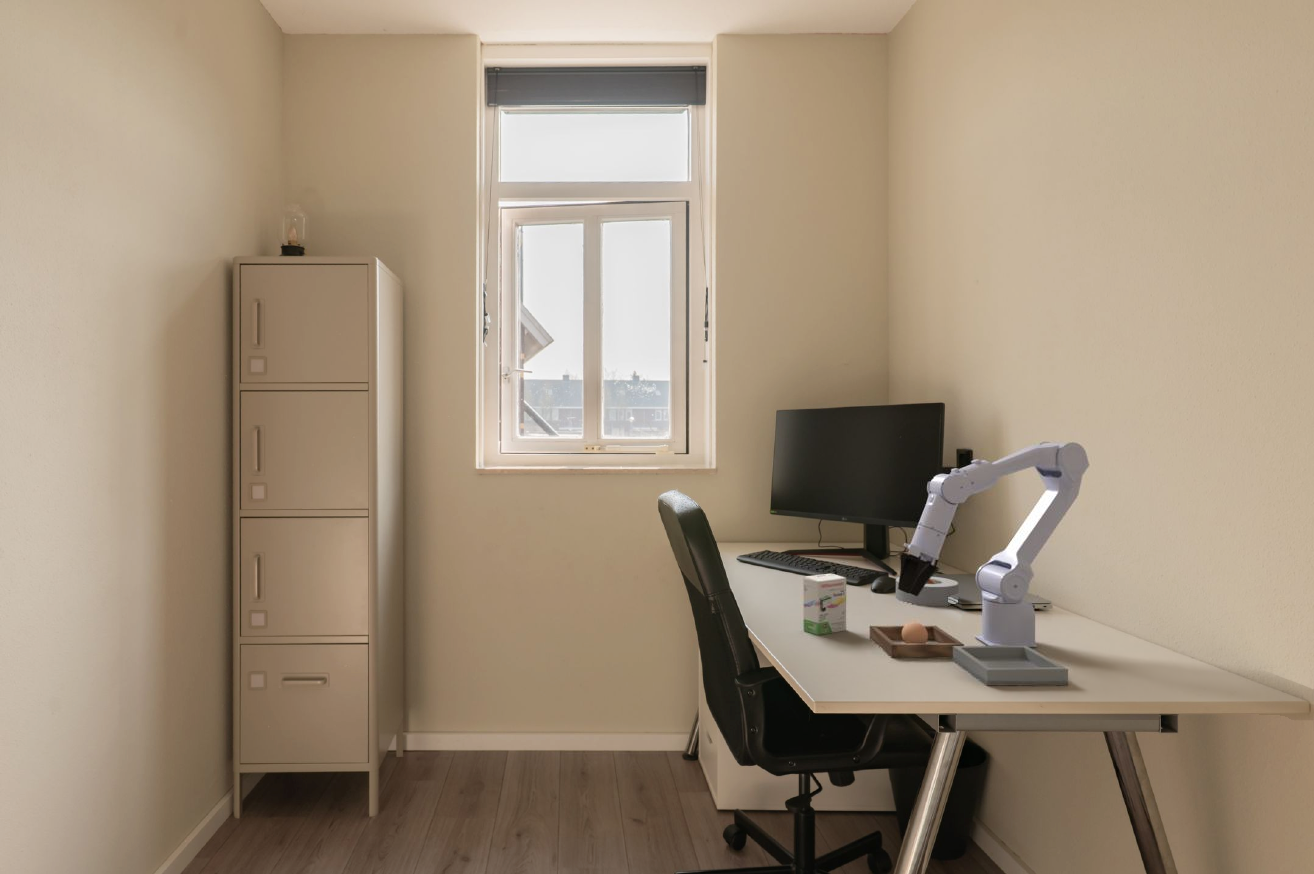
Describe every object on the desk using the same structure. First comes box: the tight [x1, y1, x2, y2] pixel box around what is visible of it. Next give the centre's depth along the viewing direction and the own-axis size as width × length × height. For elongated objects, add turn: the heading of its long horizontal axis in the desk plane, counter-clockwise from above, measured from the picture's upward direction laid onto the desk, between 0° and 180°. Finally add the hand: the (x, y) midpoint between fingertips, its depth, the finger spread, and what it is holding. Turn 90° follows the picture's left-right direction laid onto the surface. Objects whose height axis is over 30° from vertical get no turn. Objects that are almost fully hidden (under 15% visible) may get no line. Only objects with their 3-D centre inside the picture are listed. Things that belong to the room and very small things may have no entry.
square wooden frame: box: [869, 625, 965, 658], centre depth 151 cm, size 14×14×2 cm
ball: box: [902, 621, 929, 643], centre depth 151 cm, size 5×5×5 cm
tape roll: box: [895, 576, 960, 607], centre depth 194 cm, size 15×15×5 cm
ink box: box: [802, 573, 847, 636], centre depth 163 cm, size 8×5×12 cm, turn 121°
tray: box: [952, 645, 1069, 687], centre depth 135 cm, size 14×14×3 cm
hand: (907, 592), depth 151 cm, fingers open, 7 cm apart
